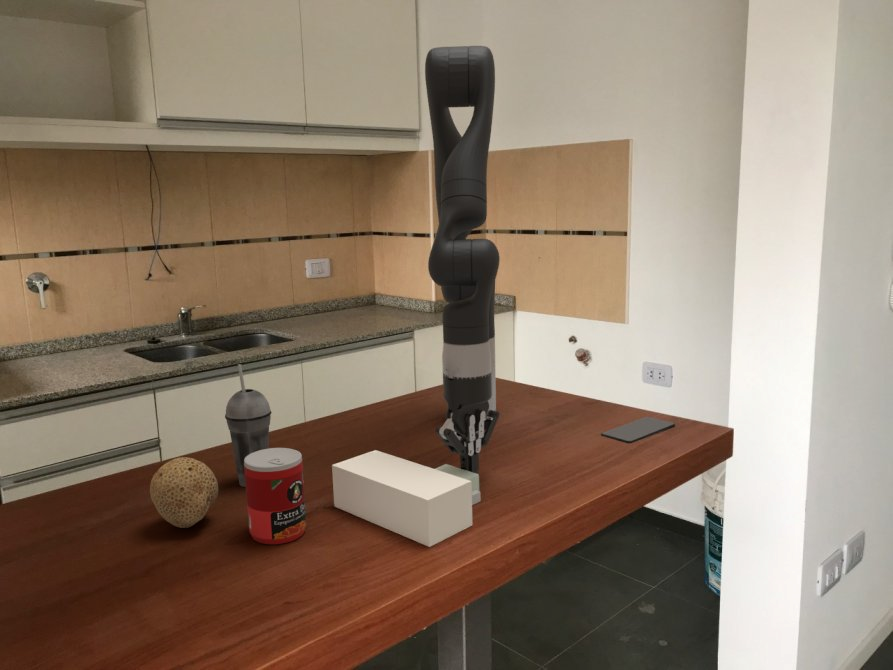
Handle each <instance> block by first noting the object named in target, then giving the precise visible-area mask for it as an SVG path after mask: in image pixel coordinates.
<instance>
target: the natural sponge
mask: <svg viewBox="0 0 893 670" xmlns="http://www.w3.org/2000/svg"><path fill="white" fill-rule="evenodd" d="M218 484H219V483H218V480H217V478H216V476H215V474H214V472H213V471H212V470H211V469H210V467H209V466H207V464H206V463H204V462H202V461H200V460H198V459H196V458H194V457H193V458H192V457H185V456H184V457H183V456H182V457H176V458H173V459H171V460H169V461H167V462H166V463H164V464H163V465H162V466H161V467H160V468H158V470H157V471H156V472H155V473H154V474H153V475H152V479H151V480H150V485H149V494H150V499H151V501H152V503H153V505H154V506H155V509H156V511H157V512H158V514H160V517H162V518H163V519H164V520H165V521H166V522H168V523H169V524H170V525H172V526H174V527H177V528H180V529H189V528H191V527H193V526H195V525H196V524H197V523H199V521H201V520H203V518H204V517H205V516H206V515H207V513H208V511H209V509H210V507H211V506H212V505H213V504H214V503H215V502H216V500H217V498H218V495H219V485H218Z"/></svg>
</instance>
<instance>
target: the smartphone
mask: <svg viewBox="0 0 893 670" xmlns="http://www.w3.org/2000/svg"><path fill="white" fill-rule="evenodd" d="M674 427H676V424H675V422H671V421H668V420H663V419H659V418H655V417H653V416H652V417H651V416H644V417H641V418H638V419H636V420H634V421H630V422H628V423H625V424H622V425H620V426H617V427H615V428H612V429H609V430H606V431H603V432H601V433H600V436H602V437H605V438H608V439H610V440H611V439H612V440H616V441H620V442H623V443H625V444H633V443H635V442H638V441H640V440H644V439H646V438H649V437H651V436H654V435H656V434H660V433H662V432H665V431H667V430H670V429H672V428H674Z"/></svg>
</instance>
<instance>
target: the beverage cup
mask: <svg viewBox="0 0 893 670" xmlns="http://www.w3.org/2000/svg"><path fill="white" fill-rule="evenodd" d="M237 367H238V368H237V369H238V376H239V380H240V381H239V383H240V387H241V389H240V390H239V391H236V392H235V393H234V394H233V395H232V396H230V399H229V400H228V401H227V404H226V407H225V414H224V418H225V420H226V424H227V427H228V430H229V434H230V439H231V446H232V451H233V456H234V457H233V458H234V463H235V468H236V474H237V477H238V481H239V482H238V483H239V485H240V486H241V487H243V488H246V484H245V470H244V459H245V457H246V456H248V455H249V454H251V453H253V452H256V451H259V450H263V449H269V448H270V447H269V446H270V425H271V419H272V418H271V416H272V410H271V407H270V403H269V401H268V399H267V398H266V396H265V395H264V394H263V393H262V392H261V391H258V390H256V389H252V388H246V386H245V385H246V384H245V381H244V375H243V368H242V367H243V366H242V364H240V363H239V364H237Z"/></svg>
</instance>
